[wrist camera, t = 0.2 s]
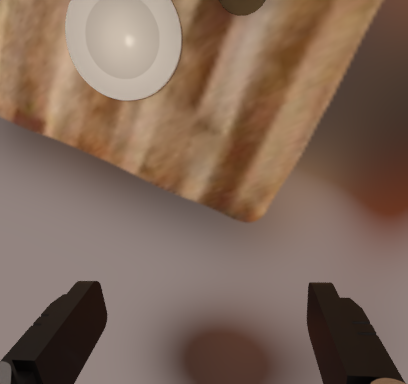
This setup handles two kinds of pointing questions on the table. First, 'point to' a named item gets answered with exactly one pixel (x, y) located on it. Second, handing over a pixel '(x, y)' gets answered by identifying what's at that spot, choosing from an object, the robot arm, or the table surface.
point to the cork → (241, 6)
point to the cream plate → (124, 45)
